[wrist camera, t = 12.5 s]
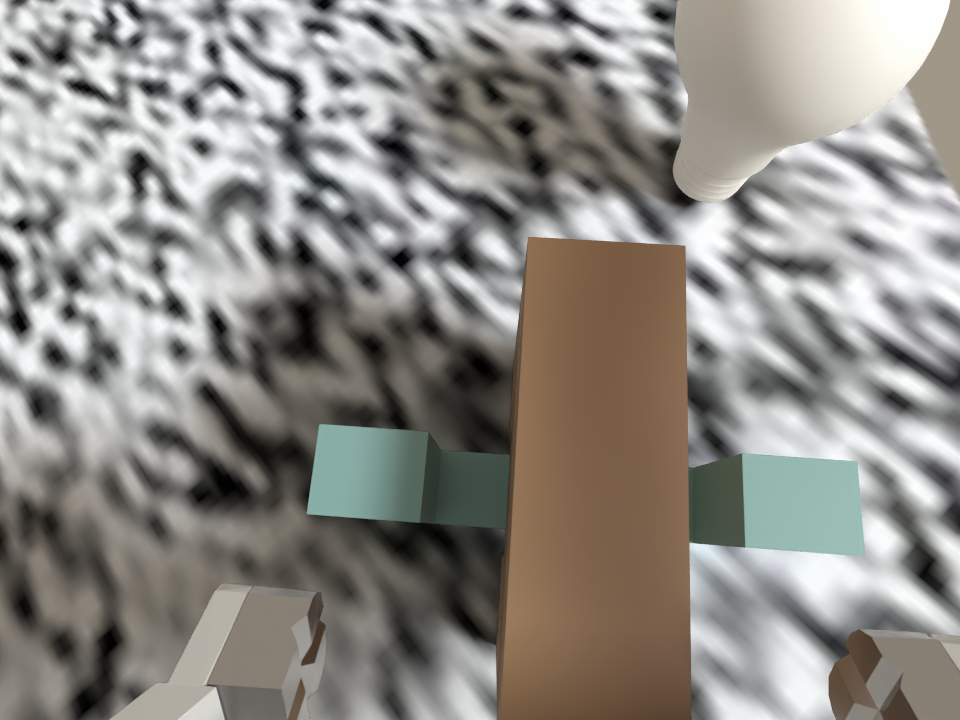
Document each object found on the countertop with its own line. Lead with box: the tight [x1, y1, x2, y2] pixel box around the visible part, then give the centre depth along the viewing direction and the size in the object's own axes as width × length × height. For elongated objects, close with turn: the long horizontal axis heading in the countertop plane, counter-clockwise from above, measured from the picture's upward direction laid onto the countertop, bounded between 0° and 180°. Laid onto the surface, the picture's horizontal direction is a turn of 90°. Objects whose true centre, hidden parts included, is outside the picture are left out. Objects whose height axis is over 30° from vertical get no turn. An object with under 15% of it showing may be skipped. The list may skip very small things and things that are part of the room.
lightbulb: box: [673, 0, 950, 203], centre depth 18 cm, size 6×6×11 cm
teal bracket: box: [307, 424, 865, 556], centre depth 17 cm, size 12×2×7 cm, turn 86°
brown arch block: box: [496, 237, 692, 720], centre depth 16 cm, size 3×9×10 cm, turn 176°
